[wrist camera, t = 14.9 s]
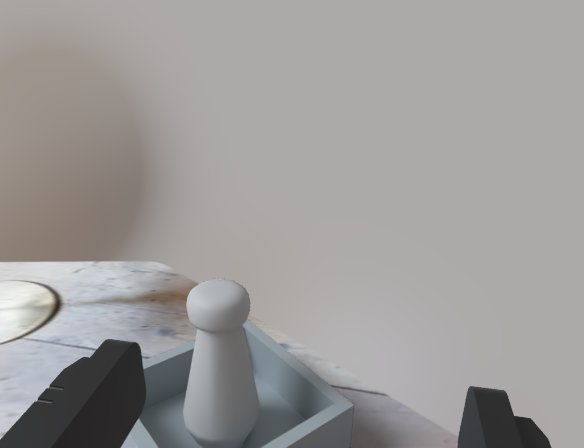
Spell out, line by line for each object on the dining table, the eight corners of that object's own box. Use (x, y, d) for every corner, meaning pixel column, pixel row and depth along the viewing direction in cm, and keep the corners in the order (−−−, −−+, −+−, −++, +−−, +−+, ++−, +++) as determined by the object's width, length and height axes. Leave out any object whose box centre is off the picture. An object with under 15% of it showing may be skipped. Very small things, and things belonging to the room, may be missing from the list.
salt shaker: (181, 467, 35) (168, 313, 30) (187, 409, 41) (177, 270, 36) (262, 460, 36) (263, 309, 31) (257, 404, 41) (257, 267, 36)
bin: (247, 362, 48) (247, 318, 46) (349, 455, 38) (354, 404, 36) (104, 429, 40) (96, 379, 38) (185, 570, 30) (180, 513, 28)
